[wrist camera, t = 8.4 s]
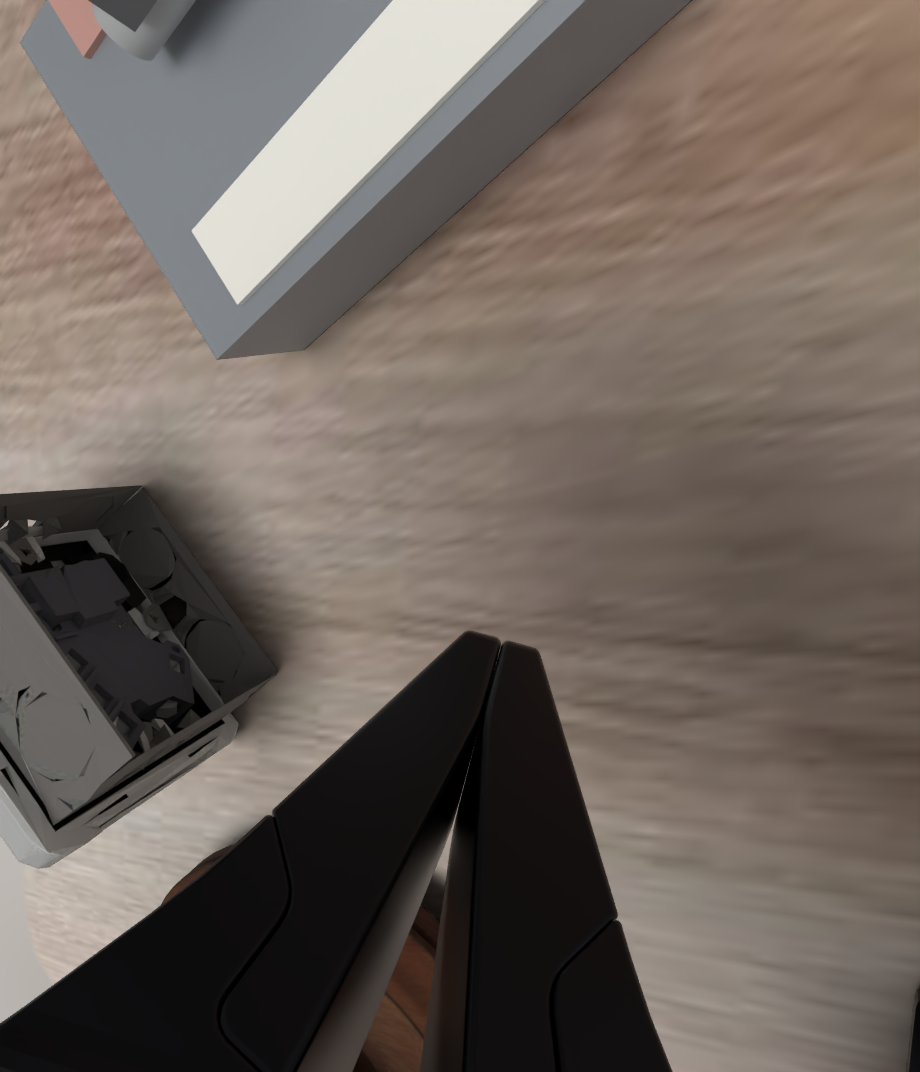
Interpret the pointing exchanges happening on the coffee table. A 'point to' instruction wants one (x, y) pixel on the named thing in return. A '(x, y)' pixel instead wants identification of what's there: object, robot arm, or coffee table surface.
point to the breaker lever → (140, 23)
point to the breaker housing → (318, 135)
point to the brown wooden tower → (387, 994)
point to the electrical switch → (105, 665)
